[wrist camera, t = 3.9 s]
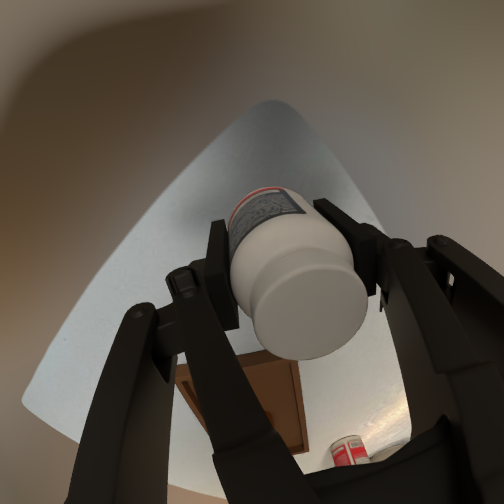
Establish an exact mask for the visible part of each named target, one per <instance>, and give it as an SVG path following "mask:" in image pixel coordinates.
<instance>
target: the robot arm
mask: <svg viewBox="0 0 504 504" xmlns="http://www.w3.org/2000/svg"><path fill="white" fill-rule="evenodd" d="M313 204H314V208H315V209H316V210H317V211H318V212H319V213H320V214H321V215H322V216H323V217H324V218H326V219H327V220H328V221H329V222H330V223H331V224H332V225H334V226H335V227H336V228H337V229H338V230H339V232H340V233H341V234H342V235H343V236H344V238H345V239H346V241H347V243H348V244H349V247H350V249H351V252H352V255H353V261H354V271H355V272H356V274H357V275H358V276H359V278H360V279H361V281H362V282H363V284H364V286H365V288H366V292H367V296H368V297H369V296H373V295H376V283H377V284H378V285H379V287H380V288H381V296H380V312H382V308H383V307H384V311H385V314H386V317H387V320H388V324H389V327H390V331H391V334H392V338H393V342H394V345H395V349H396V353H397V357H398V361H399V365H400V369H401V374H402V378H403V383H404V387H405V392H406V397H407V402H408V407H409V413H410V418H411V425H412V431H411V438H410V442H408V443H407V444H406V445H404V446H403V447H402V448H400V449H399V450H398V451H396V452H395V453H393V454H392V455H391V456H389V457H388V458H386V459H385V460H382V461H379V462H372V463H365V464H356V465H346V466H336V467H333V468H329V469H325V470H321V471H318V472H313V473H309V474H305V475H304V474H303V472H302V471H301V469H300V467H299V466H298V464H297V462H296V461H295V459H294V457H293V456H292V454H291V452H290V451H289V449H288V447H287V445H286V444H285V442H284V440H283V439H282V437H281V435H280V434H279V433H278V431H276V430H275V429H274V428H273V426H272V424H271V422H270V420H269V419H268V417H267V415H266V413H265V411H264V409H263V408H262V406H261V404H260V402H259V400H258V398H257V396H256V394H255V392H254V390H253V388H252V387H251V385H250V383H249V381H248V379H247V377H246V375H245V373H244V371H243V369H242V367H241V365H240V363H239V361H238V359H237V357H236V355H235V353H234V351H233V349H232V346H231V344H230V342H229V340H228V338H227V336H226V334H225V332H224V331H228V330H233V329H238V328H239V316H238V303H237V302H236V300H235V297H234V295H233V292H232V288H231V283H230V270H229V247H228V232H227V228H226V224H225V220H224V219H222V220H217V221H213V222H211V228H210V235H209V241H208V248H207V254H206V258H204V259H199V260H195V261H192V262H191V263H190V264H189V265H188V266H184V267H180V268H178V269H175V270H173V271H172V272H170V273H169V274H168V275H167V276H166V279H165V281H166V283H167V286H168V288H169V291H170V293H171V296H172V299H173V302H172V303H171V304H169V305H167V306H164V307H162V308H159V309H157V310H156V308H155V306H154V305H153V304H152V303H149V302H143V303H140V304H136V305H134V306H132V307H131V308H130V309H129V310H128V311H127V312H126V313H125V315H124V317H123V320H122V322H121V325H120V327H119V329H118V332H117V334H116V337H115V339H114V342H113V344H112V347H111V350H110V352H109V355H108V357H107V360H106V363H105V366H104V368H103V371H102V374H101V377H100V379H99V382H98V385H97V388H96V391H95V394H94V397H93V400H92V403H91V406H90V410H89V413H88V416H87V419H86V423H85V426H84V430H83V433H82V437H81V440H80V444H79V448H78V452H77V456H76V460H75V464H74V468H73V473H72V478H71V482H70V487H69V492H68V497H67V499H66V501H65V502H64V504H167V485H168V462H169V445H170V431H171V418H172V407H173V396H174V386H175V377H176V368H177V360H178V356H177V354H180V353H182V352H185V356H186V360H187V364H188V367H189V371H190V375H191V378H192V382H193V386H194V389H195V393H196V396H197V399H198V403H199V406H200V409H201V413H202V416H203V419H204V422H205V425H206V428H207V431H208V434H209V437H210V440H211V443H212V446H213V449H214V453H213V455H212V458H213V463H214V466H215V469H216V472H217V474H218V477H219V480H220V482H221V485H222V488H223V490H224V493H225V495H226V498H227V500H228V503H229V504H504V277H503V276H502V275H500V274H499V273H498V272H497V271H496V270H494V269H493V268H492V267H490V266H489V265H488V264H486V263H485V262H484V261H482V260H481V259H479V258H478V257H477V256H475V255H474V254H473V253H471V252H470V251H468V250H467V249H465V248H464V247H463V246H461V245H460V244H458V243H457V242H455V241H454V240H452V239H450V238H449V237H446V236H443V235H436V236H431V237H429V238H428V239H427V247H421V248H414V247H413V246H412V244H411V243H410V242H408V241H407V240H404V239H398V238H393V239H390V238H389V237H388V236H386V235H385V234H384V233H382V232H381V231H380V230H378V229H377V228H376V227H374V226H373V225H370V224H367V223H361V224H359V223H358V222H356V221H355V220H354V219H352V218H351V217H350V216H348V215H347V214H346V213H344V212H343V211H342V210H340V209H339V208H338V207H336V206H335V205H334V204H332V203H331V202H330V201H328V200H327V199H325V198H322V199H317V200H313ZM450 273H451V274H452V275H453V276H454V283H453V286H451V285H450V284H449V278H450Z"/></svg>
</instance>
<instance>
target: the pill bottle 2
mask: <svg viewBox="0 0 504 504" xmlns="http://www.w3.org/2000/svg"><path fill="white" fill-rule="evenodd" d="M330 450H331V454H332V457H333V460H334V464H335V467H336V466H346V465H356V464H365V463H370V460H369V458H368V455H367V452H366V450H365V447H364V445H363V442H362V440H361V438H360V437H359V436H349V437H346V438H343V439H341V440H339V441H337V442H335V443H334V444H333V445H332V446H331V448H330Z"/></svg>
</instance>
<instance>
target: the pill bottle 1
mask: <svg viewBox="0 0 504 504" xmlns="http://www.w3.org/2000/svg"><path fill="white" fill-rule="evenodd" d="M228 247H229V270H230V283H231V288H232V292H233V295H234V297H235V300H236V302H237V303H238V305H239V306H240V308H241V309H242V310H243V311H244V313H245V314H247V315H248V316H249V317H250V318H251V319H252V321H253V326H254V331H255V334H256V337H257V339H258V340H259V342H260V343H261V345H262V346H263V347H264V348H265V349H267V350H268V351H269V352H271V353H272V354H274V355H276V356H278V357H281V358H284V359H290V360H310V359H315V358H319V357H322V356H325V355H327V354H330V353H332V352H334V351H335V350H337V349H339V348H340V347H342V346H343V345H345V344H346V343H347V342H348V341H349V340H350V339H351V338H352V337H353V336H354V335H355V334H356V332H357V331H358V330H359V329H360V327H361V325H362V323H363V321H364V319H365V316H366V312H367V308H368V296H367V292H366V288H365V286H364V284H363V282H362V281H361V279H360V278H359V276H358V275H357V274H356V272H355V271H354V261H353V255H352V252H351V249H350V247H349V244H348V243H347V241H346V239H345V238H344V236H343V235H342V234H341V233H340V232H339V230H338V229H337V228H336V227H335V226H334V225H332V224H331V223H330V222H329V221H328V220H327V219H326V218H324V217H323V216H322V215H321V214H320V213H319V212H318V211H317V210H316V209H315V208H314V207H313V206H312V205H311V204H309V203H308V201H306V200H305V199H304V198H303V197H302V196H300V195H299V194H297V193H296V192H294V191H292V190H289V189H286V188H282V187H264V188H260V189H257V190H255V191H253V192H251V193H249V194H248V195H246V196H245V197H244V198H242V199H241V201H240V202H239V203H238V204H237V205H236V207H235V208H234V210H233V212H232V214H231V216H230V219H229V224H228Z"/></svg>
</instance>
